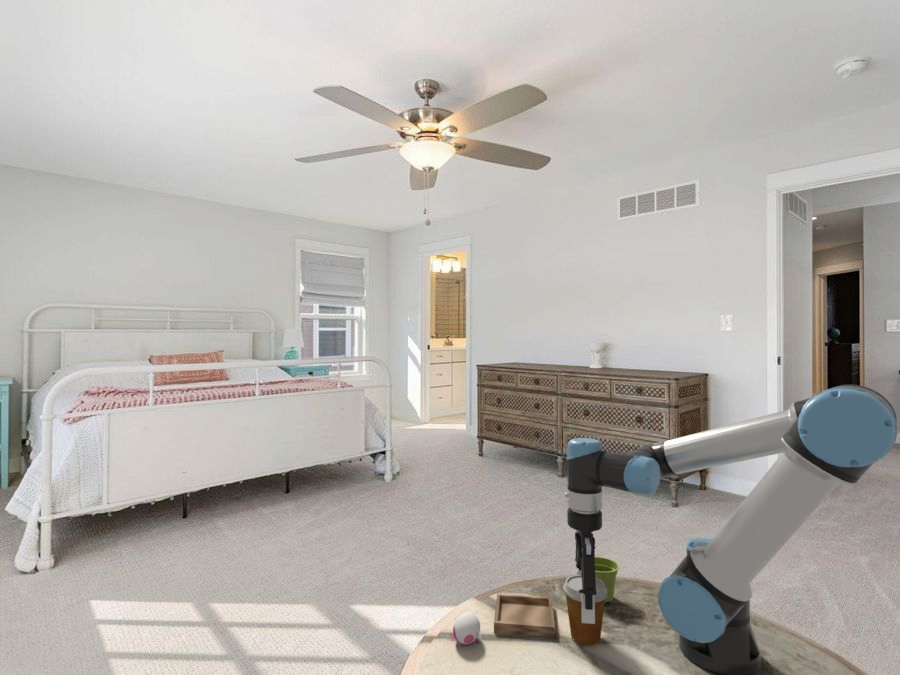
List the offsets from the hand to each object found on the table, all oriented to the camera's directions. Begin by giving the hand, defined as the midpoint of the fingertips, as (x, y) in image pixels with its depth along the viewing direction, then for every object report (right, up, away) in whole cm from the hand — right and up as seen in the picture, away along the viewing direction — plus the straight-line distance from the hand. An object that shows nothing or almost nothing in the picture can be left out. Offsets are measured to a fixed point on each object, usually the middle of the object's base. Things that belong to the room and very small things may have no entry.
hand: (585, 610), depth 111 cm
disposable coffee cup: (0, -6, 0) cm, 6 cm away
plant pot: (+9, -7, +18) cm, 21 cm away
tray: (-12, -6, +8) cm, 16 cm away
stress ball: (-27, -6, -1) cm, 28 cm away
